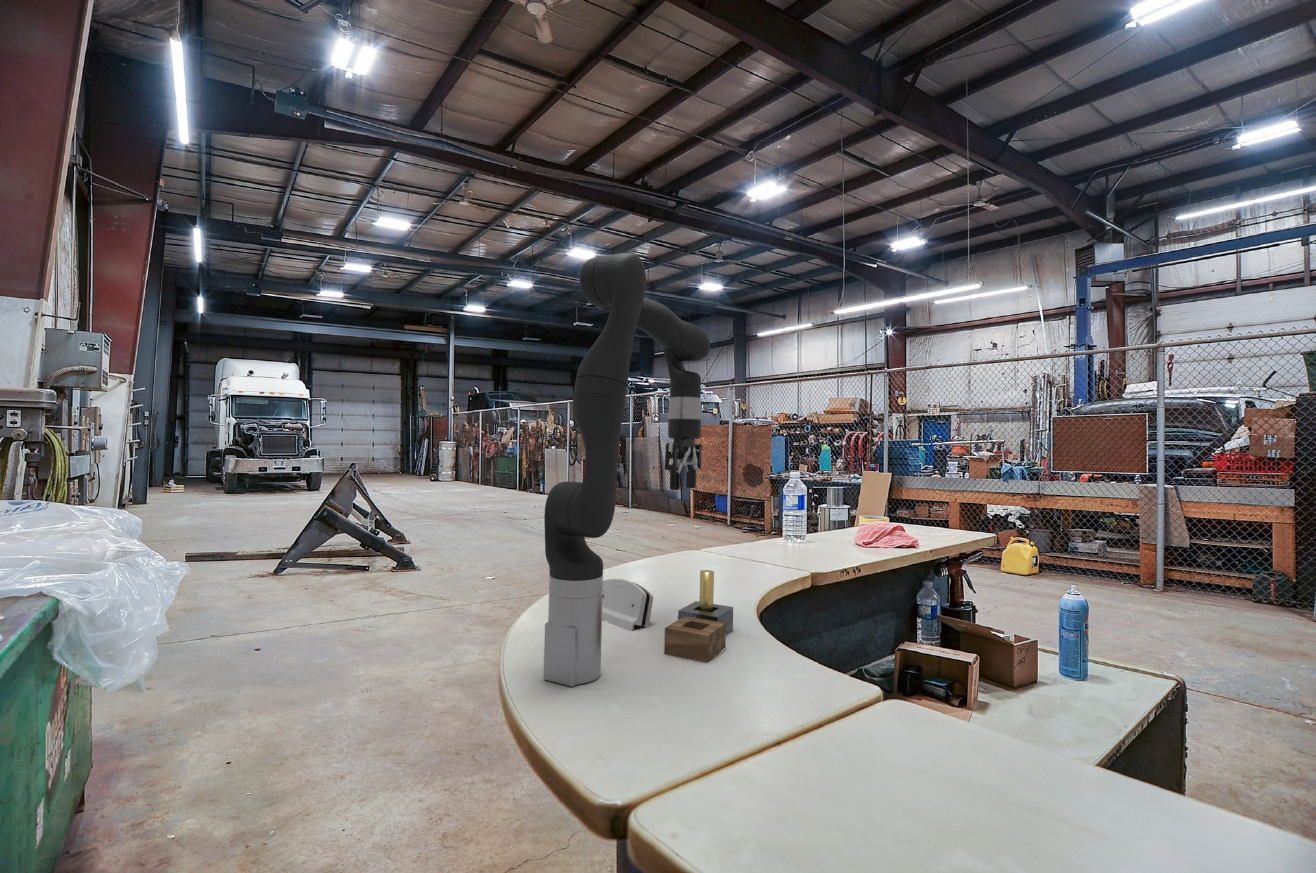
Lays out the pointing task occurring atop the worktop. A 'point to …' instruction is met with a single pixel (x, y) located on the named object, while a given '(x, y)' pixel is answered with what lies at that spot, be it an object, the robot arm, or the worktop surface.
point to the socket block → (709, 614)
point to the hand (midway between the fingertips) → (683, 488)
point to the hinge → (626, 604)
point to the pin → (706, 591)
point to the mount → (695, 638)
